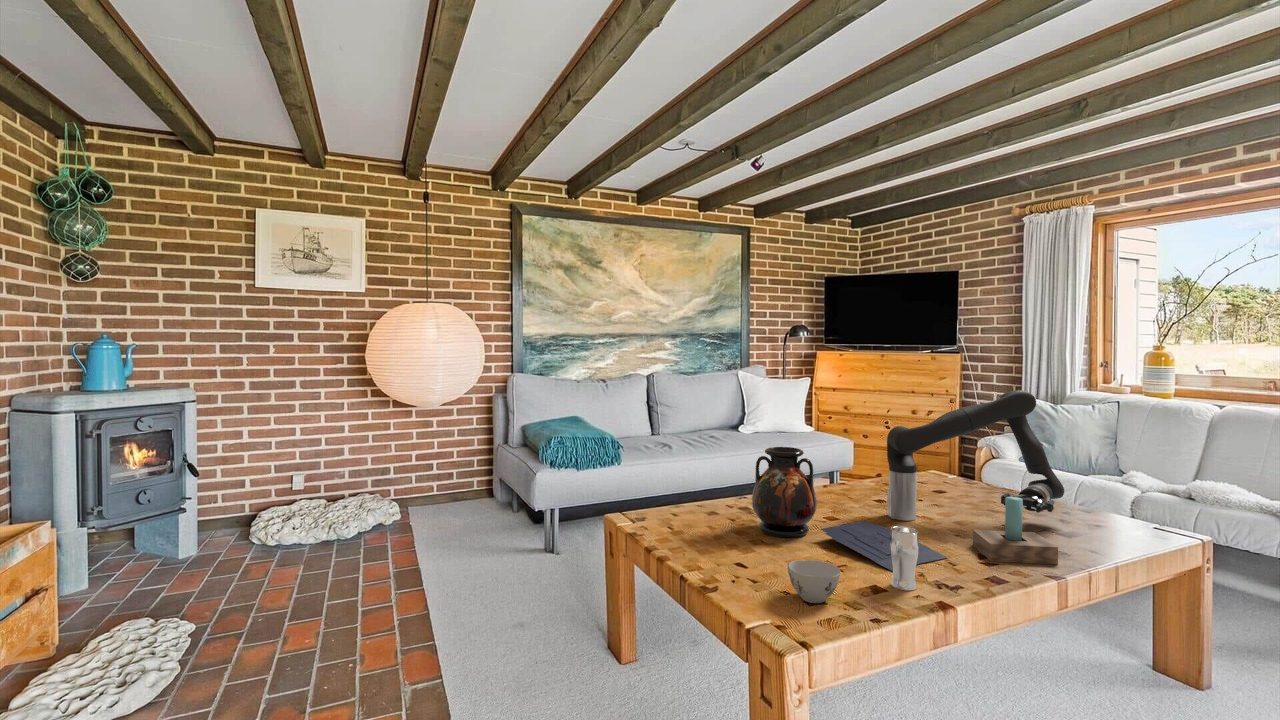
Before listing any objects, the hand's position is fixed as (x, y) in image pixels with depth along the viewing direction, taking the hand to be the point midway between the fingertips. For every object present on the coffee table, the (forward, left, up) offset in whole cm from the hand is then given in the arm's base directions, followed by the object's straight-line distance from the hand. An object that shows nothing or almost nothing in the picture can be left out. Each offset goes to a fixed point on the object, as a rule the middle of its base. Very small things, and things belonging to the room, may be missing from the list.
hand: (1021, 506), depth 192 cm
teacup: (-70, -52, -13) cm, 88 cm away
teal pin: (-6, -10, -11) cm, 16 cm away
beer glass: (-45, -41, -13) cm, 62 cm away
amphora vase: (-73, +2, -13) cm, 74 cm away
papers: (-45, -12, -13) cm, 48 cm away
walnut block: (-6, -10, -12) cm, 17 cm away
